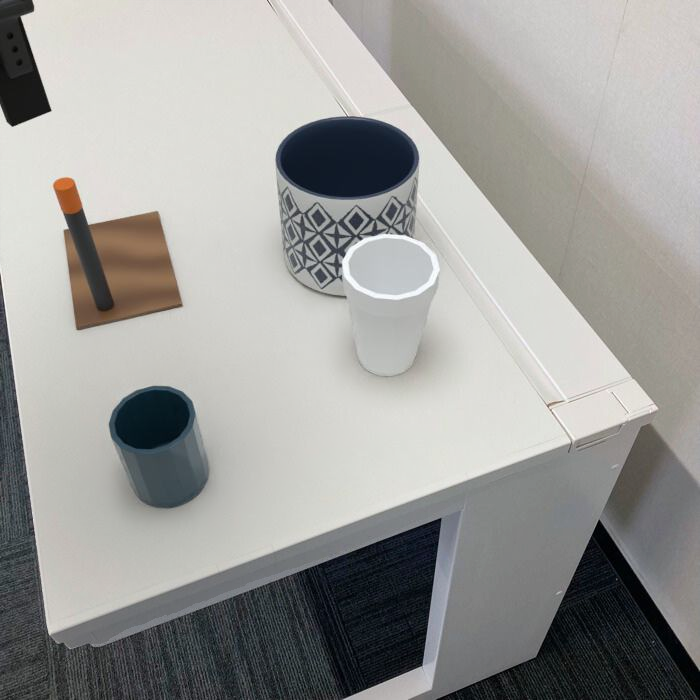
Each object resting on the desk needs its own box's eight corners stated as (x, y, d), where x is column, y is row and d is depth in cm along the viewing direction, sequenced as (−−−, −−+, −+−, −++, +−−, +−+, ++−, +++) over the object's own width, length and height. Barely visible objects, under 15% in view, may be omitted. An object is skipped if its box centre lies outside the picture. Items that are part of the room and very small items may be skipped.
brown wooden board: (182, 306, 89) (182, 303, 89) (77, 330, 87) (75, 327, 87) (158, 213, 101) (157, 210, 100) (64, 232, 98) (63, 229, 98)
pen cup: (159, 523, 71) (138, 469, 64) (117, 472, 74) (93, 416, 68) (224, 476, 74) (211, 420, 67) (181, 430, 78) (164, 372, 71)
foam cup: (411, 315, 88) (418, 226, 78) (443, 374, 82) (455, 285, 73) (332, 335, 86) (329, 246, 76) (359, 396, 80) (359, 308, 71)
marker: (102, 314, 88) (59, 192, 75) (92, 304, 89) (48, 183, 76) (118, 305, 89) (78, 183, 76) (108, 296, 90) (68, 174, 77)
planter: (413, 216, 100) (420, 117, 89) (412, 302, 90) (419, 202, 79) (291, 211, 101) (284, 113, 90) (276, 296, 90) (265, 196, 80)
